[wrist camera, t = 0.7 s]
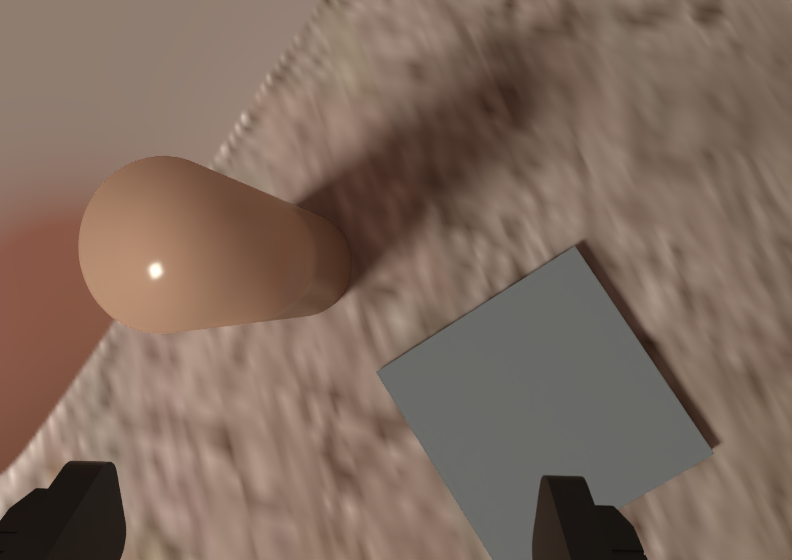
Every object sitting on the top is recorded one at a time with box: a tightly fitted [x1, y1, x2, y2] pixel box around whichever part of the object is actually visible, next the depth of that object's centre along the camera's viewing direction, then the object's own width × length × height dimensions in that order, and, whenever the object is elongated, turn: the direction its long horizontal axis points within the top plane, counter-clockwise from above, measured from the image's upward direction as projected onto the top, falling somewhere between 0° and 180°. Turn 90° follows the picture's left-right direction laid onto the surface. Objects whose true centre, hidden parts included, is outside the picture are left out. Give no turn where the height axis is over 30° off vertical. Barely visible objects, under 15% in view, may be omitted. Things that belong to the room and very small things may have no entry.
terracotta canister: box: [79, 156, 352, 334], centre depth 27 cm, size 5×5×14 cm
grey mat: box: [376, 246, 714, 560], centre depth 31 cm, size 11×11×1 cm
